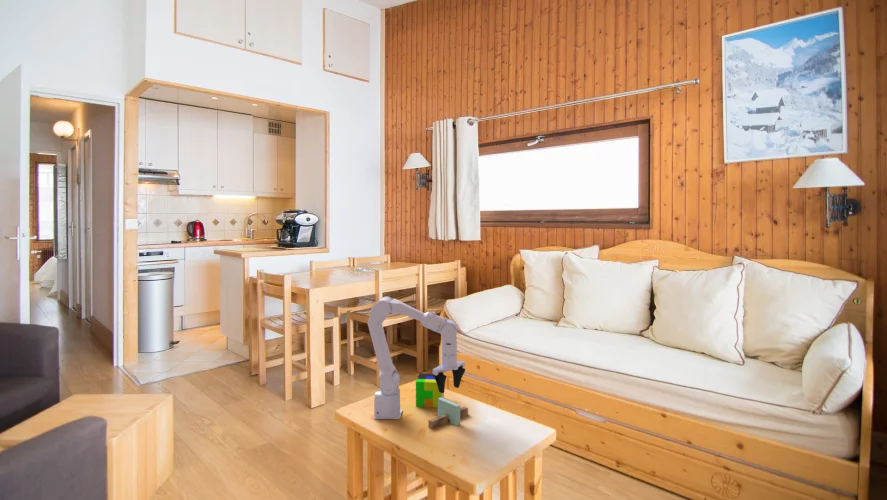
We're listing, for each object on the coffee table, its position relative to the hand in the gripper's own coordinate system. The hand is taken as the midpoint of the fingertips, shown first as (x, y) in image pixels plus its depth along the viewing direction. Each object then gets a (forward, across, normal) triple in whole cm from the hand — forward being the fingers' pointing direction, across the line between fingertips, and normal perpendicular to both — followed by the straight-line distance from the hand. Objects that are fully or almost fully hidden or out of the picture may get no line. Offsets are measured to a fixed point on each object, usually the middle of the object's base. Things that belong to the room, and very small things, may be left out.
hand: (449, 389), depth 171 cm
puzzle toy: (+11, +4, +16) cm, 19 cm away
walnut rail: (+10, -2, -2) cm, 11 cm away
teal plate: (+10, -2, -2) cm, 11 cm away
